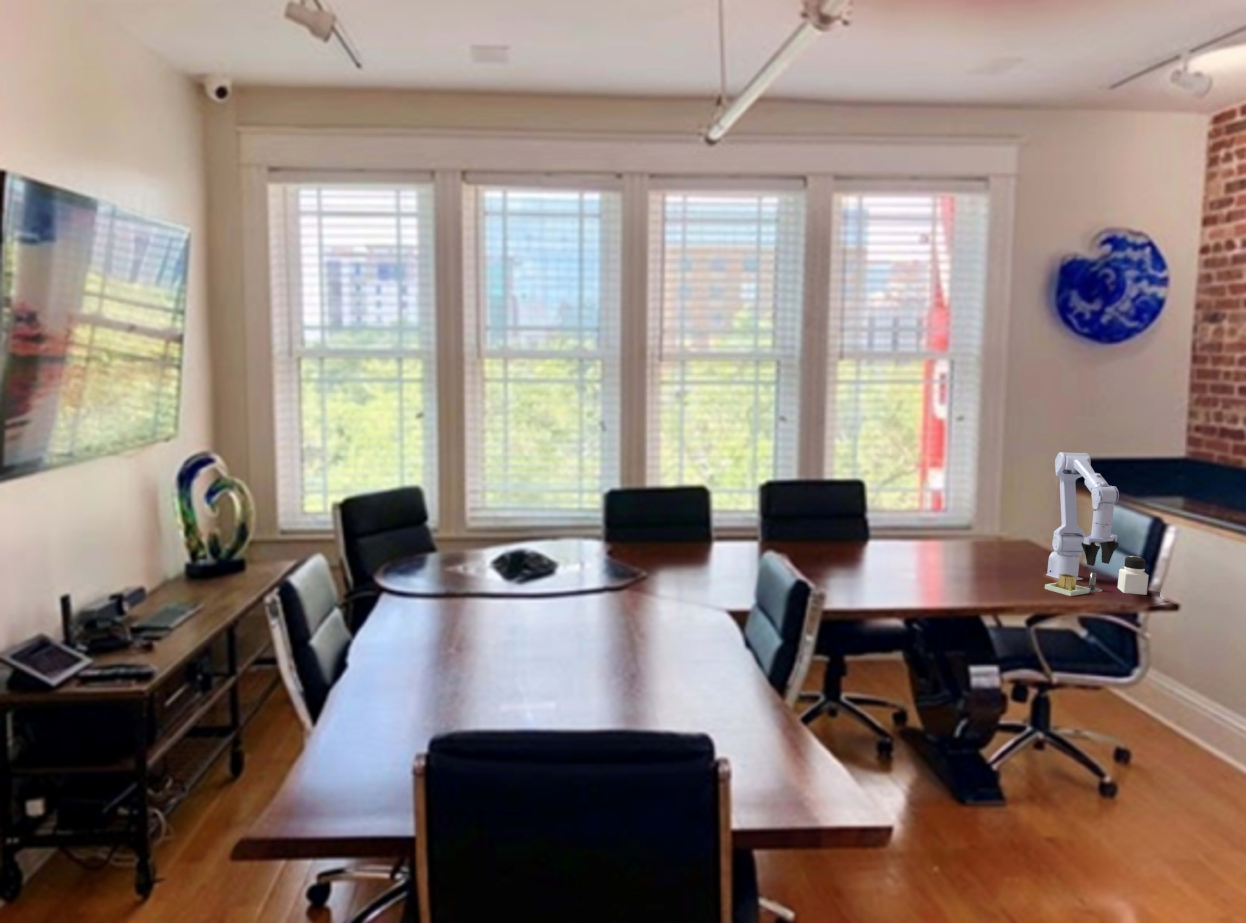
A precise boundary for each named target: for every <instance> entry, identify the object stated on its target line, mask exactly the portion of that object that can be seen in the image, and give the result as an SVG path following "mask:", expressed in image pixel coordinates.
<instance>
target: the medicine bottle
mask: <svg viewBox="0 0 1246 923" xmlns="http://www.w3.org/2000/svg"><path fill="white" fill-rule="evenodd" d="M1146 562H1147V561H1146V559H1144V558H1143V557H1140V556H1134V555H1131V556H1130V555H1129V556H1126V557H1125V558H1124V565H1123V568H1119V571H1118V577H1117V578H1118V579H1117V589H1118V590H1119V591H1121V592H1122V593H1123V594H1131V595H1132V594H1133V595H1144V596H1145V595H1146V596H1147V595H1148V587H1149V577H1150V575H1149V574H1147V573H1146V572H1145V570H1146Z"/></svg>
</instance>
